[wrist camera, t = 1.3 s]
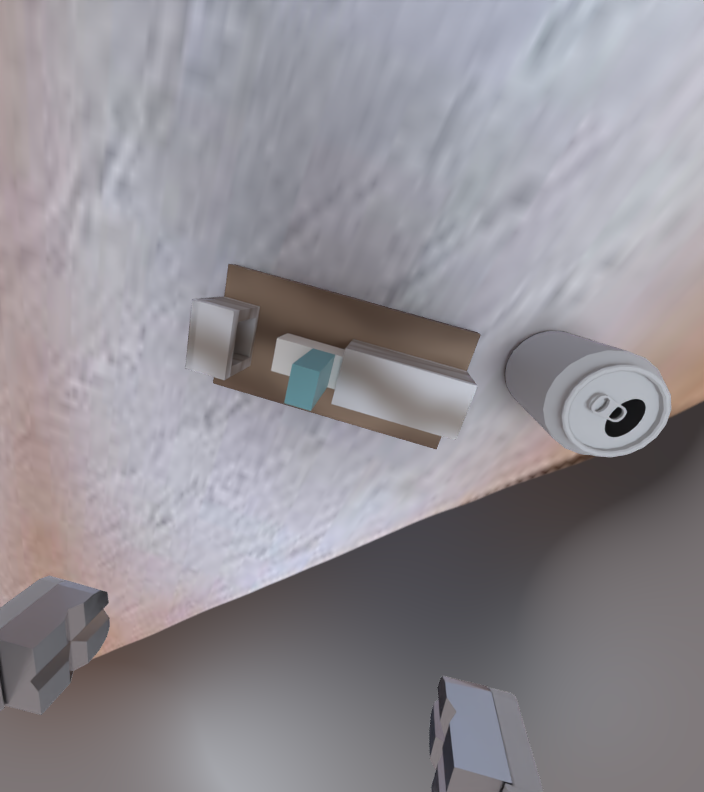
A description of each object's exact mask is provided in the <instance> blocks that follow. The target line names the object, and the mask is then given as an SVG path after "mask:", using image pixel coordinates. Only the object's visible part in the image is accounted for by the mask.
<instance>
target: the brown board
mask: <svg viewBox="0 0 704 792" xmlns="http://www.w3.org/2000/svg"><path fill="white" fill-rule="evenodd" d="M287 333H289V334H293V335H296V336H300V337H303V338H306V339H310V340H313V341H317V342H320V343H324V344H327V345H331V346H334V347H338V348H341V349H345V352H344V356H343V360H342V364H341V368H340V372H339V376H338V380H337V383H336V387H335V389H332V388H328V387H327V388H326V390H325V391H324V393H323V394H322V396H321V397H320V398H319V400H318V401H317V403H316V404H315V406H314V407H313V408H312V410H311V411H309V410H306V409H302V408H299V407H295V406H292V405H289V404H285V403H284V401H285V397H286V392H287V387H288V382H289V377H290V376H287V375H284V374H280V373H277V372H274V371H271V368H272V363H273V357H274V352H275V347H276V341H277V338H278V337H280V336H283V335H285V334H287ZM479 338H480V334H479V333H477V332H474V331H470V330H467V329H463V328H459V327H456V326H452V325H449V324H445V323H442V322H438V321H434V320H431V319H427V318H424V317H420V316H417V315H413V314H410V313H406V312H402V311H399V310H395V309H392V308H388V307H385V306H381V305H377V304H374V303H370V302H367V301H363V300H360V299H356V298H352V297H349V296H345V295H342V294H338V293H335V292H331V291H327V290H324V289H320V288H317V287H313V286H310V285H306V284H303V283H299V282H295V281H292V280H288V279H285V278H281V277H278V276H274V275H270V274H267V273H263V272H260V271H256V270H253V269H249V268H245V267H242V266H238V265H233V264H229V265H228V272H227V280H226V288H225V295H224V297H212V298H201V299H192V305H191V315H190V325H189V335H188V345H187V355H186V365H185V369H188V370H191V371H195V372H198V373H202V374H205V375H208V376H212V377H214V380H213V383H214V384H217V385H221V386H224V387H227V388H231V389H234V390H238V391H241V392H244V393H248V394H251V395H254V396H258V397H261V398H265V399H268V400H271V401H275V402H278V403H281V404H285V405H288V406H292V407H295V408H298V409H302V410H305V411H308V412H312V413H315V414H319V415H322V416H325V417H329V418H332V419H335V420H339V421H342V422H346V423H349V424H352V425H356V426H359V427H362V428H366V429H369V430H373V431H376V432H379V433H383V434H386V435H389V436H393V437H396V438H400V439H403V440H406V441H410V442H413V443H416V444H420V445H423V446H427V447H430V448H433V449H437V447H438V444H439V441H440V439H441V436H442V437H446V438H449V439H452V440H456V439H457V436H458V434H459V431H460V429H461V426H462V424H463V421H464V419H465V416H466V414H467V411H468V409H469V406H470V404H471V401H472V399H473V396H474V394H475V392H476V389H477V387H478V386H477V385H476V383H475V382H474V380H473V379H472V378H471V376H470V375H469V374H468V372H467V369H468V366H469V364H470V361H471V358H472V356H473V353H474V351H475V348H476V346H477V343H478V340H479Z"/></svg>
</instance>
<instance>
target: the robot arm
mask: <svg viewBox="0 0 704 792" xmlns="http://www.w3.org/2000/svg"><path fill="white" fill-rule="evenodd" d="M108 603H109V602H108V594H107V592H105V591H102V590H98V589H95V588H91V587H88V586H84V585H81V584H78V583H74V582H71V581H67V580H63V579H60V578H56V577H52V576H47V577H44V578H41V579H39V580H38V581H36V582H35V583H33V584H32V585H31V586H29V587H28V588H27V589H25V590H24V591H22V592H21V593H20V594H18V595H17V596H16V597H14V598H13V599H11V600H10V601H9V602H7V603H6V604H5V605H3V606H2V607H0V711H1V710H3V709H4V708H5V707H4V705H5V706H9V707H12V708H17V709H21V710H24V711H28V712H32V713H36V714H40V715H42V714H43V712H44V711H45V710H46V709H47V708H48V707H49V706H50V705H51V704H52V703H53V701H54V700H55V699H56V698H57V697H58V696H59V695H60V694H61V693H62V691H63V690H64V689H65V688H66V687H67V686H68V685H69V684H70V682H71V678H72V674H73V671H74V670H76V669H78V668H80V667H82V666H83V665H85V664H87V663H88V662H89V661H90V660H91V659H92V658H93V657H94V656H95V655H96V653H97V652H98V651H99V650H100V648H101V646H102V644H103V643H104V641H105V639H106V637H107V634H108V631H109V627H110V622H109V617H108V615H107V614H106V612H105V611H104V608H105V606H106V605H107V604H108ZM437 688H438V700H437V701H436V702H434V703H433V707H432V711H431V717H430V727H429V753H430V760H431V762H432V764H433V766H434V768H435V769H436V772H435V775H434V779H433V782H432V786H431V790H432V792H544V791H543V787H542V784H541V780H540V777H539V773H538V770H537V767H536V763H535V760H534V756H533V753H532V750H531V746H530V742H529V739H528V736H527V732H526V729H525V725H524V722H523V719H522V715H521V711H520V708H519V705H518V701H517V699H516V697H515V696H514V694H513V693H510V692H506V691H502V690H498V689H494V688H489V687H487V686H484V685H480V684H476V683H472V682H467V681H463V680H459V679H454V678H450V677H446V676H442V677H441V678H440V680H439V684H438V687H437Z"/></svg>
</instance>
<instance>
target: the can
mask: <svg viewBox="0 0 704 792" xmlns="http://www.w3.org/2000/svg"><path fill="white" fill-rule="evenodd" d="M505 378H506V384H507V388H508V389H509V391H510V393H511V394H512V396H513V397H514V398H515V399H516V401H517V402H518V403H519V404H520V405H521V406H522V407H523V408H524V409H525V410H526V411H527V412H528V413H529V414H530V415H531V416H532V417H533V418H534V419H535V420H536V421H537V422H538V423H539V424H540V425H541V426H542V427H543V428H544V429H545V430H546V431H547V432H548V434H549V435H550V436H551V437H552V438H553V439H555V440H556V441H557V442H558V443H559V444H561V445H562V446H563V447H564V448H566V449H569V450H571V451H574V452H576V453H579V454H585V455H594V456H603V457H615V456H621V455H626V454H629V453H632V452H634V451H636V450H639V449H641V448H643V447H644V446H646V445H647V444H648V443H650V442H651V441H652V440H653V439H655V438H656V437H657V436H658V434H659V433H660V432H661V430H662V429H663V428H664V426H665V425H666V423H667V420H668V417H669V414H670V412H671V394H670V392H669V390H668V388H667V386H666V384H665V382H664V380H663V378H662V376H661V374H660V372H659V370H658V369H657V368H656V367H655V366H654V365H653V364H652V363H650V362H649V361H648V360H647V359H646V358H644V357H641V356H639V355H636V354H634V353H631V352H628V351H625V350H622V349H619V348H616V347H612V346H609V345H606V344H603V343H599V342H596V341H593V340H590V339H586V338H583V337H580V336H577V335H573V334H570V333H567V332H564V331H547V332H543V333H539V334H535V335H533V336H532V337H530V338H528V339H526V340H525V341H523V342H522V343H521V344H520V345H519V346H518V347H517V348H516V349H515V350H514V351H513V353H512V355H511V357H510V358H509V360H508V362H507V366H506V372H505Z"/></svg>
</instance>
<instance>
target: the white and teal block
mask: <svg viewBox="0 0 704 792" xmlns="http://www.w3.org/2000/svg"><path fill="white" fill-rule="evenodd" d="M344 352H345V349H341V348H338V347H334V346H331V345H327V344H324V343H320V342H317V341H313V340H310V339H306V338H303V337H300V336H296V335H293V334H289V333H287V334H285V335H283V336H280V337H278V338H277V341H276V347H275V352H274V357H273V363H272V368H271V371H274V372H277V373H280V374H284V375H287V376H290V377H289V382H288V387H287V392H286V397H285V401H284V403H285V404H289V405H292V406H295V407H299V408H302V409H306V410H309V411H311V410H312V408H313V407H314V406H315V404H316V403H317V401H318V400H319V398H320V397H321V396H322V394H323V393H324V391H325V390H326V388H327V387H328V388H332V389H335V387H336V383H337V380H338V376H339V372H340V368H341V364H342V360H343V356H344Z"/></svg>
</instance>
